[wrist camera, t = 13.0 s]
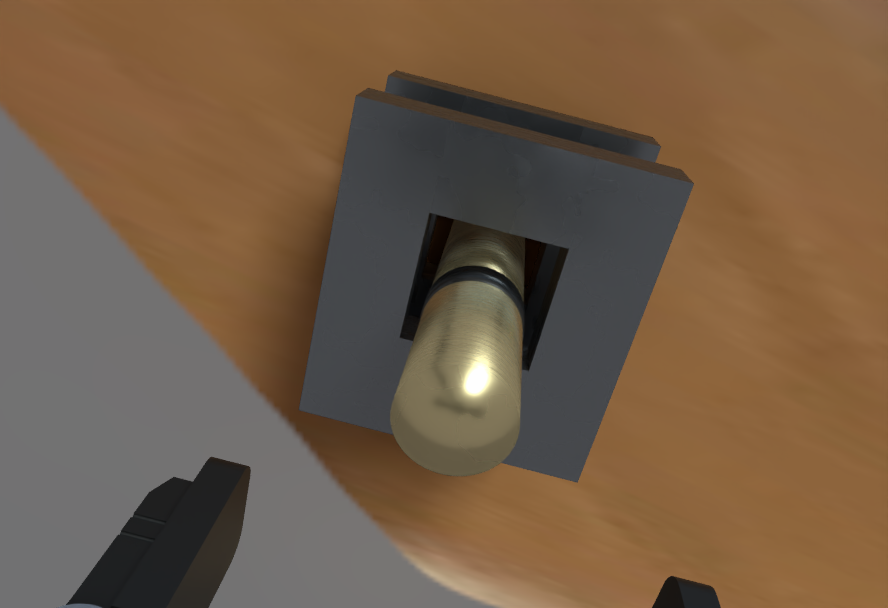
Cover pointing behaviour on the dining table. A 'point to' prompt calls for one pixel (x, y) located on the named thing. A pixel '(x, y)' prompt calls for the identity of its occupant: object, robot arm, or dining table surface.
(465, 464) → the brass tube
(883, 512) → the dining table surface
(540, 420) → the collar stand
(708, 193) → the dining table surface
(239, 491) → the robot arm
